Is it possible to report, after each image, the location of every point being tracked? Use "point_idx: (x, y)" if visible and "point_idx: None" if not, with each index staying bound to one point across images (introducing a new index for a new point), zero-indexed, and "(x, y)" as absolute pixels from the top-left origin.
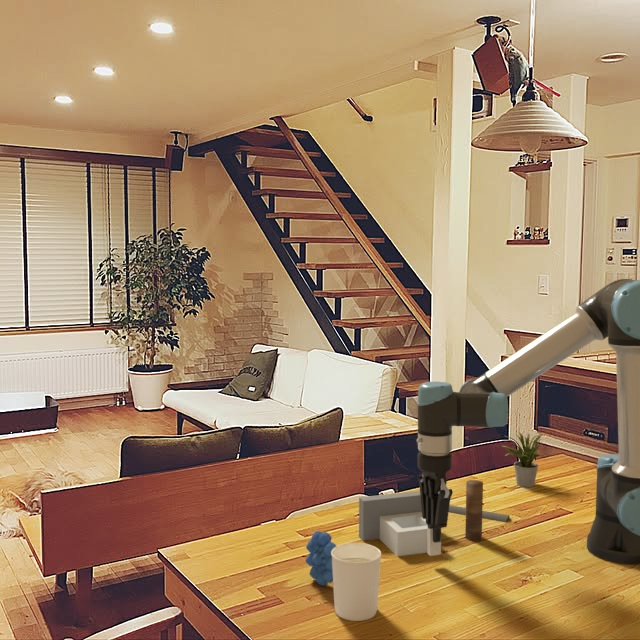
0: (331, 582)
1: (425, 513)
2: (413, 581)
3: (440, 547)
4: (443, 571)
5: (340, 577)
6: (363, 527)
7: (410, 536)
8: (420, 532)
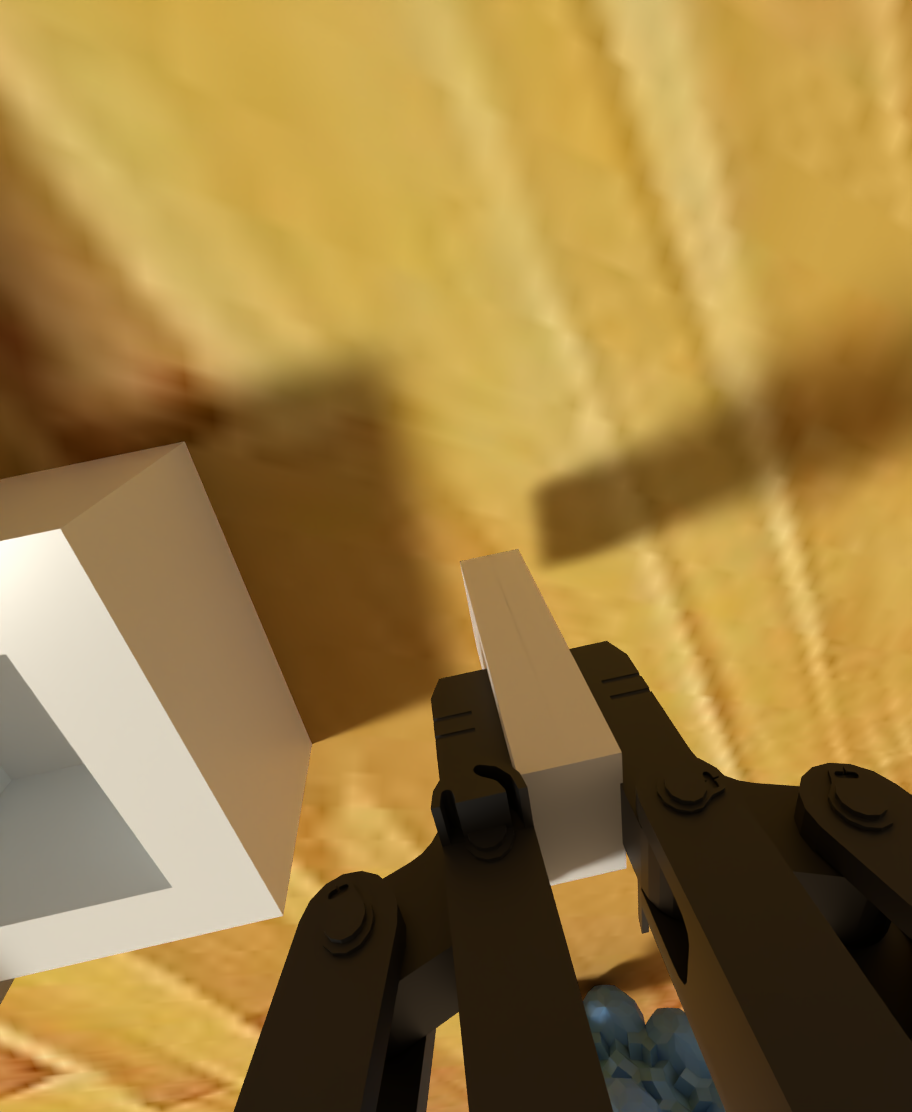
0: (677, 1008)
1: (425, 1078)
2: (671, 703)
3: (536, 587)
4: (590, 513)
5: None
6: (5, 990)
7: (249, 783)
8: (199, 729)
